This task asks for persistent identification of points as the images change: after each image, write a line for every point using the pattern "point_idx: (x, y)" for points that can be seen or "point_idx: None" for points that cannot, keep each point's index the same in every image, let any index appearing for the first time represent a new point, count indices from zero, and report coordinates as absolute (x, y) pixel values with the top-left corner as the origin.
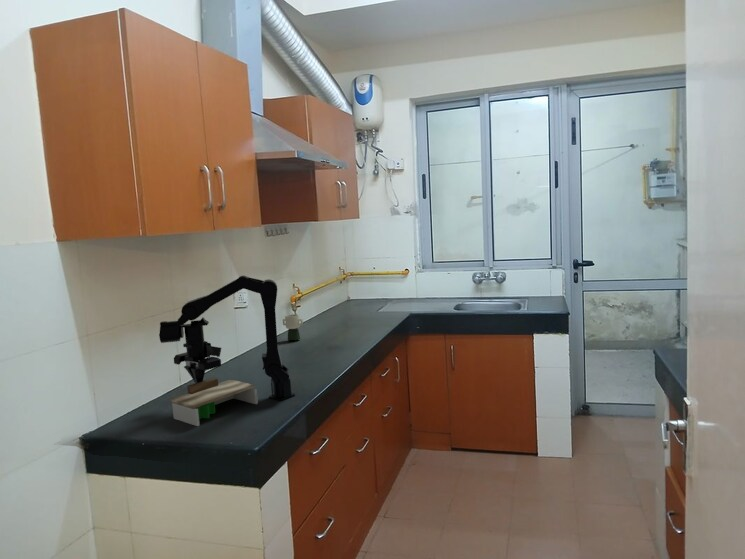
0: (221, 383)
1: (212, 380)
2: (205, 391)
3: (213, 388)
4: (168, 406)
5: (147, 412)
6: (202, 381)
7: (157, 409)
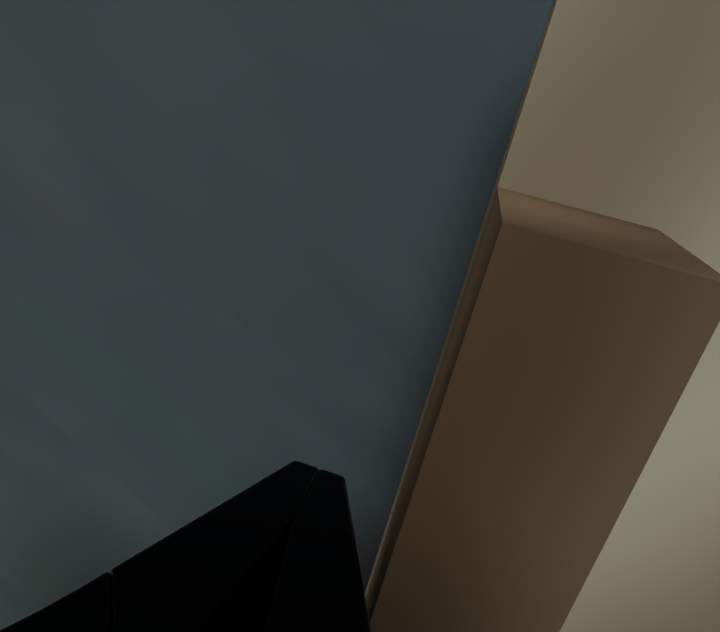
0: (639, 37)
1: (632, 466)
2: (610, 628)
3: (672, 452)
4: (32, 402)
5: (9, 554)
6: (401, 609)
7: (16, 485)
